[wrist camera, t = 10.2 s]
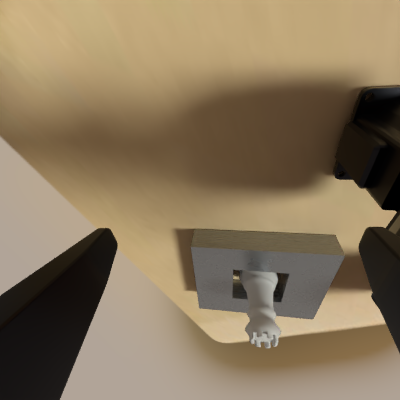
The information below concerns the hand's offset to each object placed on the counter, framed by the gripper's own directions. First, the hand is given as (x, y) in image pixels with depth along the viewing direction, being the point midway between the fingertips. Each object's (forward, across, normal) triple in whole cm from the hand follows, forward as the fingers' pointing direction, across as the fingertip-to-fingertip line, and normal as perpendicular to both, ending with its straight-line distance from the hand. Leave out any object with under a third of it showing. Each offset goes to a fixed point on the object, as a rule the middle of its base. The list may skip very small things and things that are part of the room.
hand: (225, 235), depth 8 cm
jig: (+11, -2, +17) cm, 20 cm away
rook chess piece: (+11, -2, +17) cm, 20 cm away
